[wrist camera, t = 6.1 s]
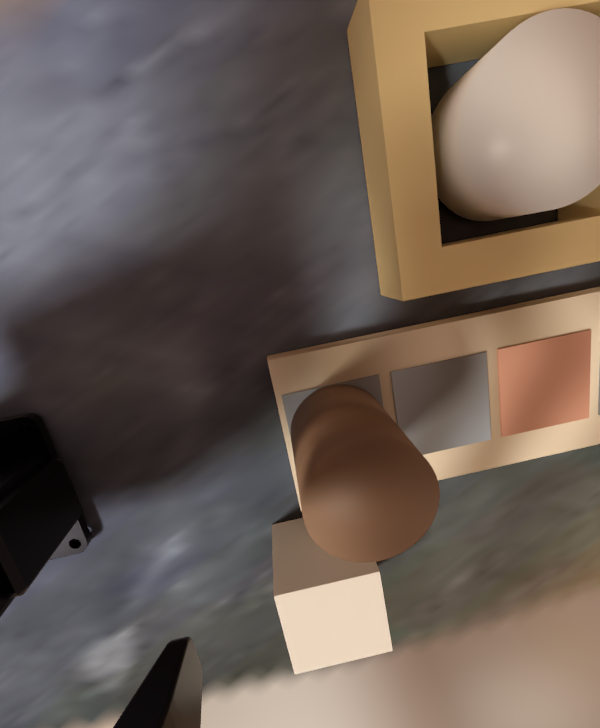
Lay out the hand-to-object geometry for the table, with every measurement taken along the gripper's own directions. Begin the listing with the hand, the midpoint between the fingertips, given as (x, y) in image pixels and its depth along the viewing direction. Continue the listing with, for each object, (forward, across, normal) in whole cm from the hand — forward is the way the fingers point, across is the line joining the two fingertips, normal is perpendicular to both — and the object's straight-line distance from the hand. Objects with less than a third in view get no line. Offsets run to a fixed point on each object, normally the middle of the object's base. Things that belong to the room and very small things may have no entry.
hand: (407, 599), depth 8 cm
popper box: (+9, -7, -10) cm, 15 cm away
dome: (+8, -7, -10) cm, 15 cm away
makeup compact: (+9, -7, 0) cm, 11 cm away
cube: (+9, +2, +6) cm, 11 cm away
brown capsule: (+8, 0, 0) cm, 8 cm away
